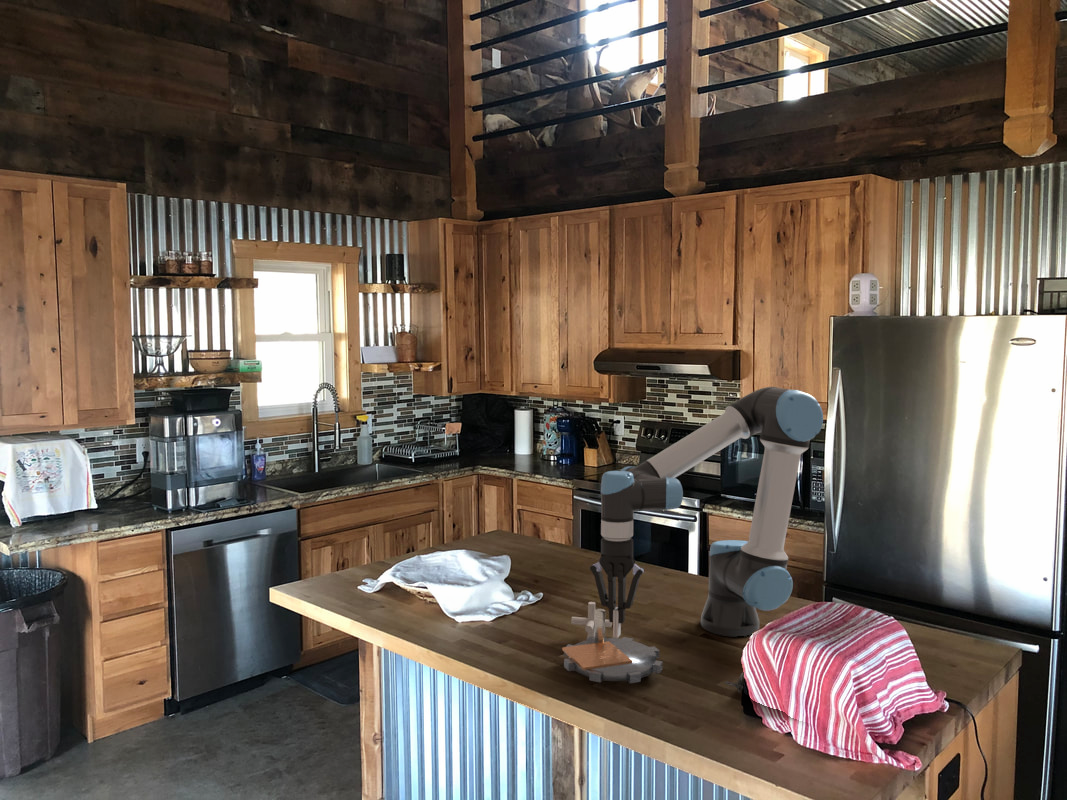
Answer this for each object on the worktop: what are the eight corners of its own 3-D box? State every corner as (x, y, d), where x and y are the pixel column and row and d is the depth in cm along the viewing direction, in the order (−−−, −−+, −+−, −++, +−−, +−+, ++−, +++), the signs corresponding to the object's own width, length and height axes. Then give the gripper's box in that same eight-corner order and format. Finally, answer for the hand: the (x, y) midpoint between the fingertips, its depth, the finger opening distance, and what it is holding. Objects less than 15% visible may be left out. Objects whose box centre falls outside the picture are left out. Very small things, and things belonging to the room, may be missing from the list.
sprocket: (634, 638, 211) (635, 599, 210) (681, 675, 189) (683, 632, 188) (547, 650, 203) (548, 609, 202) (587, 690, 181) (587, 645, 180)
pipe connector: (608, 650, 209) (609, 611, 208) (568, 647, 211) (569, 608, 210) (613, 635, 219) (613, 598, 218) (574, 632, 221) (575, 595, 220)
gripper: (647, 536, 201) (646, 633, 203) (595, 532, 206) (595, 628, 207) (640, 543, 194) (639, 644, 196) (586, 538, 199) (586, 638, 200)
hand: (616, 635), depth 201 cm, fingers closed
